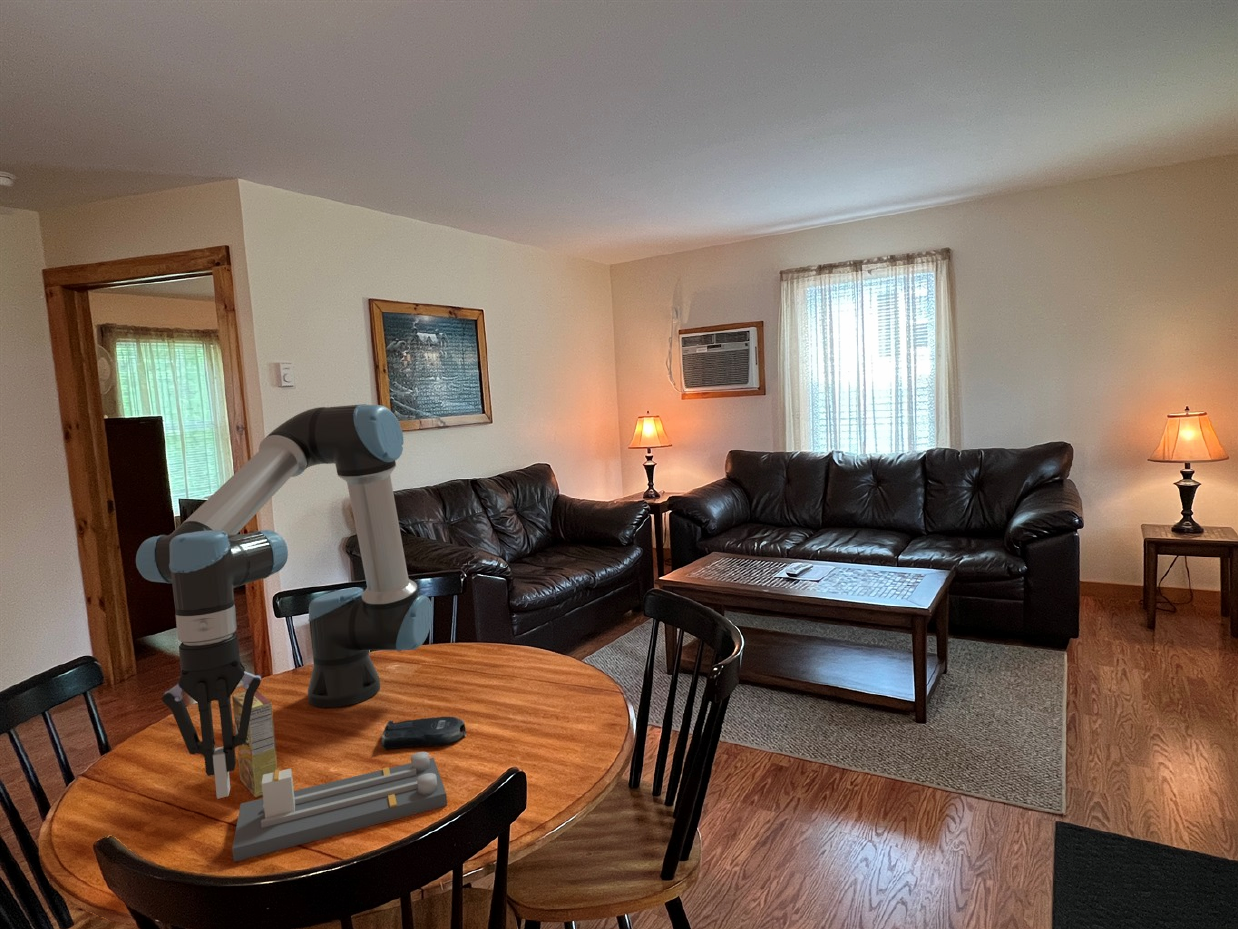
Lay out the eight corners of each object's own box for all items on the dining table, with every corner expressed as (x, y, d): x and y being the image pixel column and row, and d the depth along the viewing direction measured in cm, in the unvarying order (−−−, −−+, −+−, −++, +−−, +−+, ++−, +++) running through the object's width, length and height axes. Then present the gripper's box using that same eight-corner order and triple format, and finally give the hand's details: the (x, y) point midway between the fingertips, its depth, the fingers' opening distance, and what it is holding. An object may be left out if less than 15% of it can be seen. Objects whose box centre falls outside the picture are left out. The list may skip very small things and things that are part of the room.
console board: (242, 815, 114) (239, 791, 114) (434, 768, 126) (432, 746, 125) (233, 862, 102) (230, 835, 102) (447, 805, 114) (445, 781, 114)
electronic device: (383, 764, 132) (464, 743, 134) (376, 734, 132) (458, 714, 134) (393, 746, 142) (469, 727, 143) (388, 718, 142) (463, 700, 143)
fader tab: (266, 811, 111) (262, 772, 111) (295, 804, 113) (291, 766, 112) (265, 822, 108) (261, 782, 108) (294, 815, 110) (290, 775, 109)
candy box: (239, 780, 126) (229, 695, 124) (264, 771, 128) (256, 687, 127) (255, 799, 119) (245, 709, 118) (281, 788, 122) (272, 701, 121)
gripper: (150, 653, 99) (168, 817, 101) (256, 637, 104) (270, 793, 106) (161, 638, 106) (177, 792, 108) (259, 623, 111) (273, 771, 113)
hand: (223, 793), depth 107 cm, fingers closed
